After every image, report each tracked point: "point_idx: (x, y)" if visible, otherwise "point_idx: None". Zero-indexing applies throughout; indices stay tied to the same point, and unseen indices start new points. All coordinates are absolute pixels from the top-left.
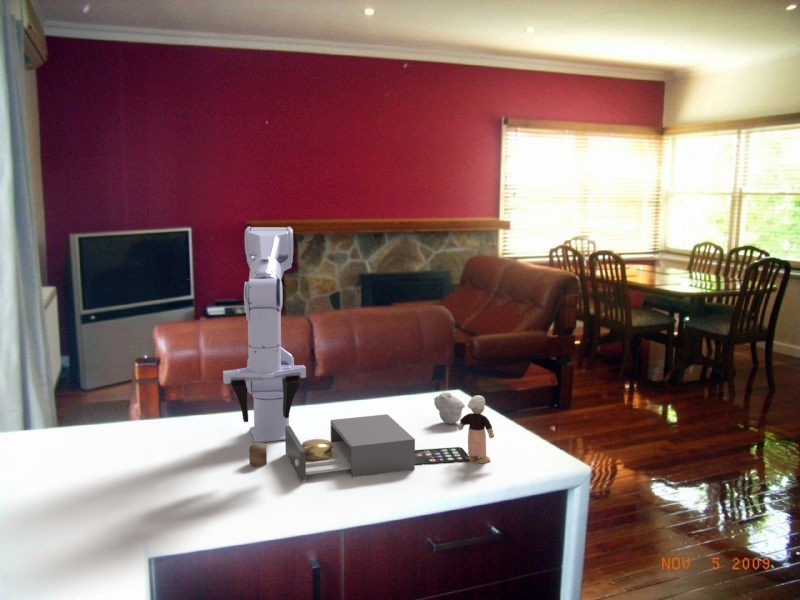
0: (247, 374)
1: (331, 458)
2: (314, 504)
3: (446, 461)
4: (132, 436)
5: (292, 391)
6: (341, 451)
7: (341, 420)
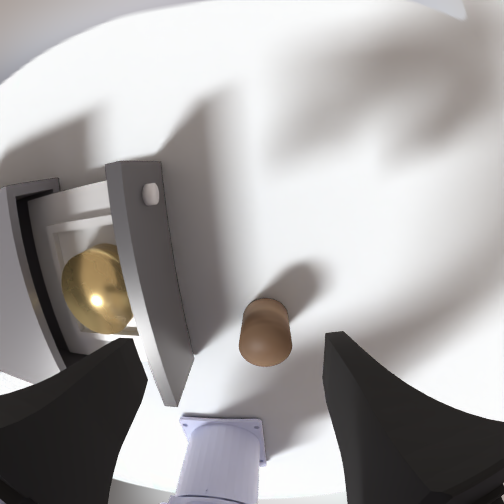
0: None
1: None
2: (152, 39)
3: None
4: None
5: (8, 403)
6: (59, 279)
7: None
